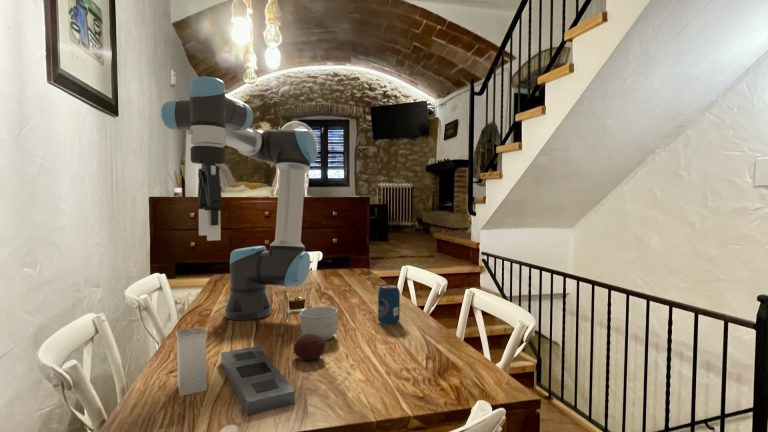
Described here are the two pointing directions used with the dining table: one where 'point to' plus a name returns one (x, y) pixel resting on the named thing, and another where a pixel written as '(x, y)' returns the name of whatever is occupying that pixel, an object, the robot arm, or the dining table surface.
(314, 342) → the potato
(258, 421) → the dining table surface
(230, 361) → the grey board with recesses
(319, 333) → the teacup
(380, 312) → the soda can
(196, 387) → the grey rectangular block
